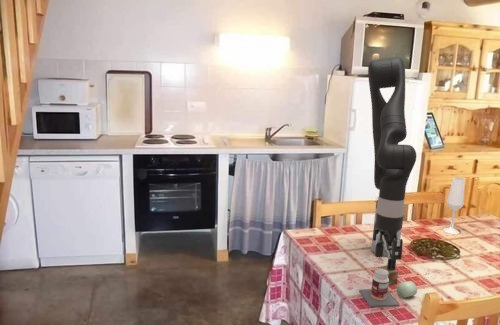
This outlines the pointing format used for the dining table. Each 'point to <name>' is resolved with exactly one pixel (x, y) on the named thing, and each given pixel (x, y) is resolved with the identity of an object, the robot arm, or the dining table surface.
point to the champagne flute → (455, 200)
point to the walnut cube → (391, 275)
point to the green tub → (406, 289)
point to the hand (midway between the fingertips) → (384, 263)
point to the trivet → (378, 303)
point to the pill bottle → (380, 284)
